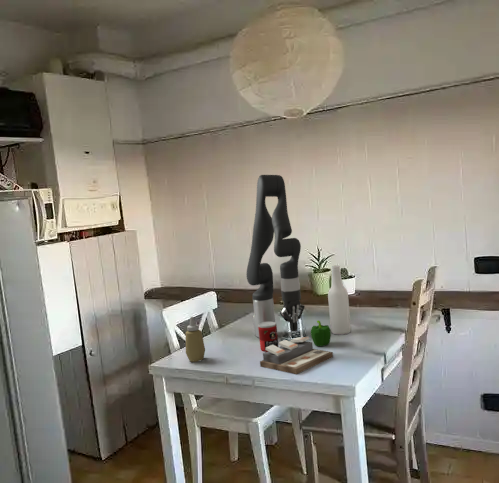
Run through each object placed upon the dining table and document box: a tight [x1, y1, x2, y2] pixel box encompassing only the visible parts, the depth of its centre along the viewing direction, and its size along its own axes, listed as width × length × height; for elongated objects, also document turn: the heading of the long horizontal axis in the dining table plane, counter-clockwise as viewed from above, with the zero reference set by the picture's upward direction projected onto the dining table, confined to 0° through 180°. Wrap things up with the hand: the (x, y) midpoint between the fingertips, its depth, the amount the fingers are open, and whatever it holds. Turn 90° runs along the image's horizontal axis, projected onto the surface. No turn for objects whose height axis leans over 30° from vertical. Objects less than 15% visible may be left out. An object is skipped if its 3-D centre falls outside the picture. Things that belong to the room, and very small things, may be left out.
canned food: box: [258, 321, 279, 353], centre depth 238 cm, size 8×8×11 cm
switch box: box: [259, 340, 334, 375], centre depth 218 cm, size 18×22×5 cm
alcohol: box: [327, 264, 352, 336], centre depth 252 cm, size 9×9×30 cm
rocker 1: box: [265, 345, 285, 356], centre depth 215 cm, size 6×4×2 cm, turn 45°
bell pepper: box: [310, 320, 332, 347], centre depth 237 cm, size 8×8×10 cm
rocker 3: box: [289, 336, 310, 343], centre depth 226 cm, size 6×4×2 cm, turn 45°
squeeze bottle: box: [185, 316, 206, 363], centre depth 233 cm, size 8×8×18 cm
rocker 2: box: [278, 339, 298, 350], centre depth 221 cm, size 6×4×2 cm, turn 45°
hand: (294, 330), depth 227 cm, fingers closed
